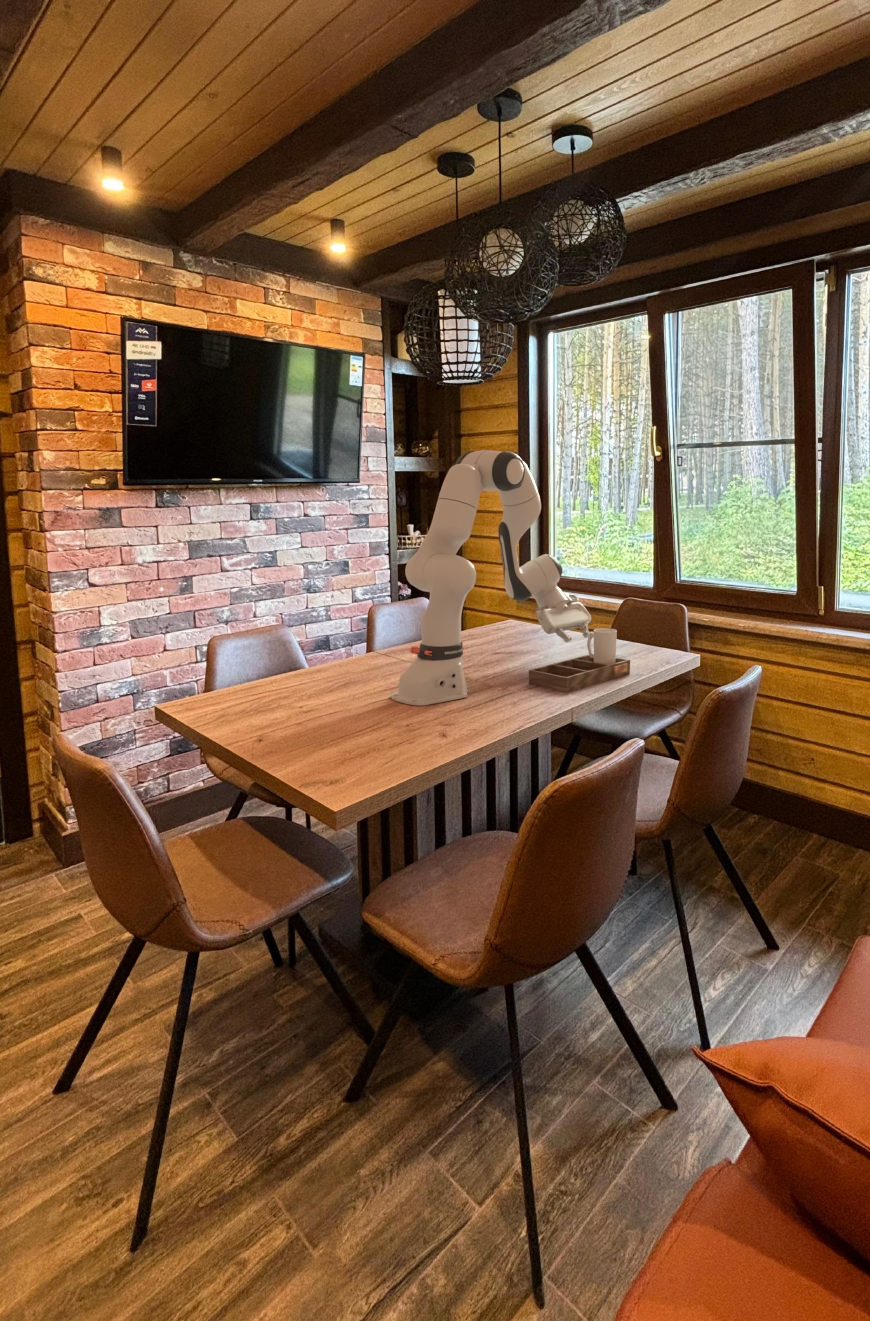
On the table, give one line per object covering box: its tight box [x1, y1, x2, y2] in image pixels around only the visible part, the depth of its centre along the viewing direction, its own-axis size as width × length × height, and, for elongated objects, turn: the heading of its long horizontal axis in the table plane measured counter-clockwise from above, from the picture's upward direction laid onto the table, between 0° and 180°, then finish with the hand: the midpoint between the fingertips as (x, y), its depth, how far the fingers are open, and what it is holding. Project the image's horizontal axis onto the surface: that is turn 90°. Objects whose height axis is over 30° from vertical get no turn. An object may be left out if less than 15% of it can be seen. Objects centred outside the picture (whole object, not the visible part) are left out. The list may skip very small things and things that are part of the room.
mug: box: [586, 627, 618, 665], centre depth 226 cm, size 10×7×12 cm, turn 38°
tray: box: [528, 654, 631, 693], centre depth 221 cm, size 30×15×4 cm, turn 131°
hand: (578, 638), depth 232 cm, fingers open, 8 cm apart
